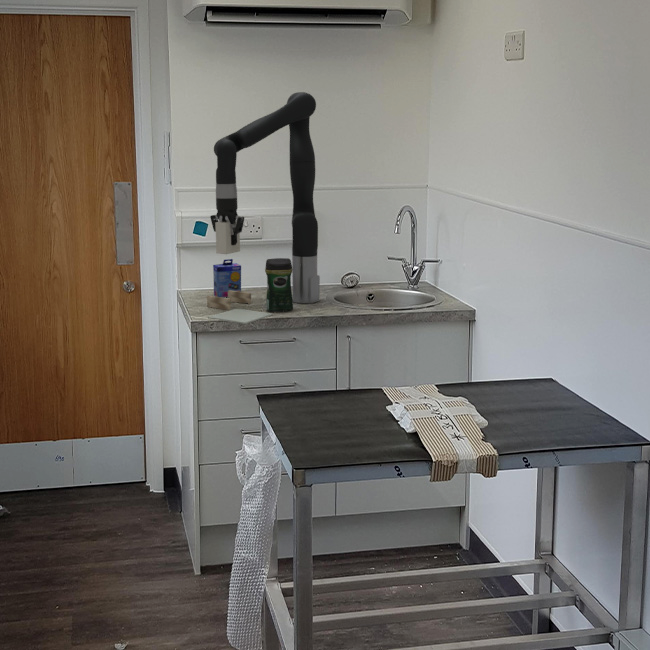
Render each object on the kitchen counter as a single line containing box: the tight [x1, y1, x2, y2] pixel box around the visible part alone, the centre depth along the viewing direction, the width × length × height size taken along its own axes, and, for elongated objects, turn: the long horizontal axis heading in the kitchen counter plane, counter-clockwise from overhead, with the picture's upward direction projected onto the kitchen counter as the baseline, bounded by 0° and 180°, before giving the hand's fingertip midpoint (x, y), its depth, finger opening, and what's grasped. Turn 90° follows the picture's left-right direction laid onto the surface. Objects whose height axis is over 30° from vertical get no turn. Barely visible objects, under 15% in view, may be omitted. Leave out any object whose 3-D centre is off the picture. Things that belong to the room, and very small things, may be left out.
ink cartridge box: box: [212, 258, 242, 298], centre depth 359 cm, size 10×6×14 cm, turn 115°
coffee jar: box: [264, 257, 294, 313], centre depth 334 cm, size 10×8×19 cm
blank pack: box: [215, 222, 241, 255], centre depth 338 cm, size 4×8×11 cm, turn 148°
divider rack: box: [206, 290, 252, 311], centre depth 344 cm, size 10×13×4 cm
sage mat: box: [207, 308, 274, 325], centre depth 326 cm, size 16×16×1 cm
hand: (228, 244), depth 339 cm, fingers closed on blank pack, 4 cm apart
